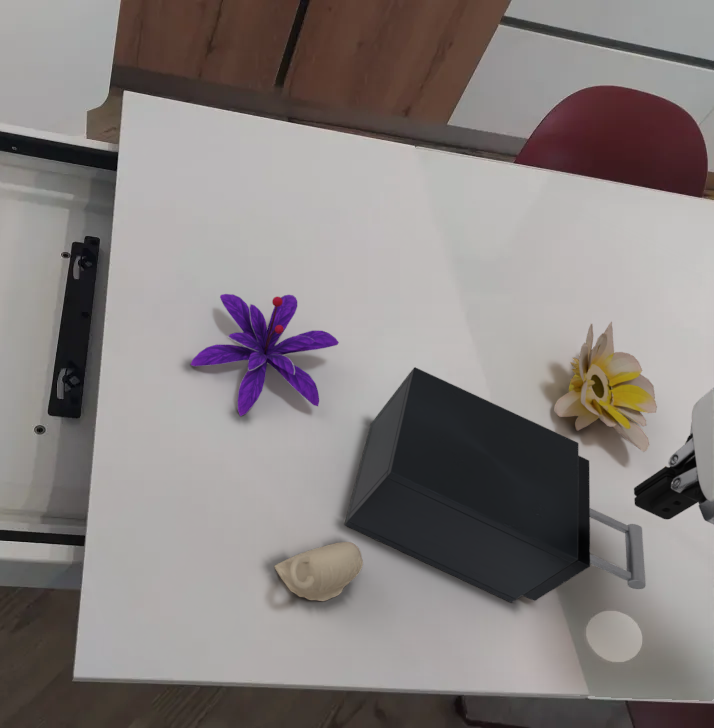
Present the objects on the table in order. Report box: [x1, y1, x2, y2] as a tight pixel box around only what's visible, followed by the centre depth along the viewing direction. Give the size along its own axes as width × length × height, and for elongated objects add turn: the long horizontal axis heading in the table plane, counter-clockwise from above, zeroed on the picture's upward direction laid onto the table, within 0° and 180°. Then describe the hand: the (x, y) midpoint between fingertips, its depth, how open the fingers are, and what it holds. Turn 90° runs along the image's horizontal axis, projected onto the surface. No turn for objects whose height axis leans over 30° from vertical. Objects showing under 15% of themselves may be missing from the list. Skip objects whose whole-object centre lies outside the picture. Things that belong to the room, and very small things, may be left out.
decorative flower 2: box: [553, 320, 658, 453], centre depth 82 cm, size 15×11×10 cm
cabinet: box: [344, 366, 579, 603], centre depth 67 cm, size 17×13×10 cm
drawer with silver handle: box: [522, 455, 647, 602], centre depth 67 cm, size 23×11×8 cm, turn 71°
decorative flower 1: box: [190, 293, 339, 417], centre depth 72 cm, size 14×15×7 cm
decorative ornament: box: [273, 541, 364, 602], centre depth 60 cm, size 4×8×5 cm, turn 111°
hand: (649, 504), depth 62 cm, fingers closed
